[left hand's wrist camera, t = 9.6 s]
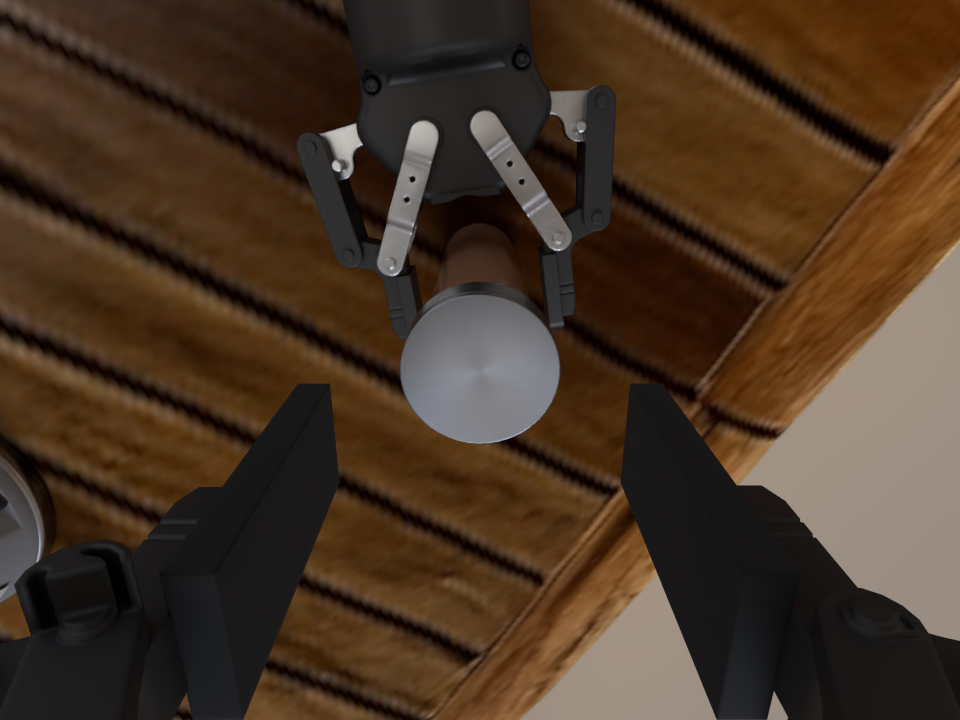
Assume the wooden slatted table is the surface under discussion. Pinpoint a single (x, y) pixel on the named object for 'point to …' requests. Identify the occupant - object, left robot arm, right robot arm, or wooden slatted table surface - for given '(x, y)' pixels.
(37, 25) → the wooden slatted table surface
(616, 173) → the wooden slatted table surface
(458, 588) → the wooden slatted table surface
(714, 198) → the wooden slatted table surface
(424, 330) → the lid
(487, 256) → the pinkish brown cylinder
